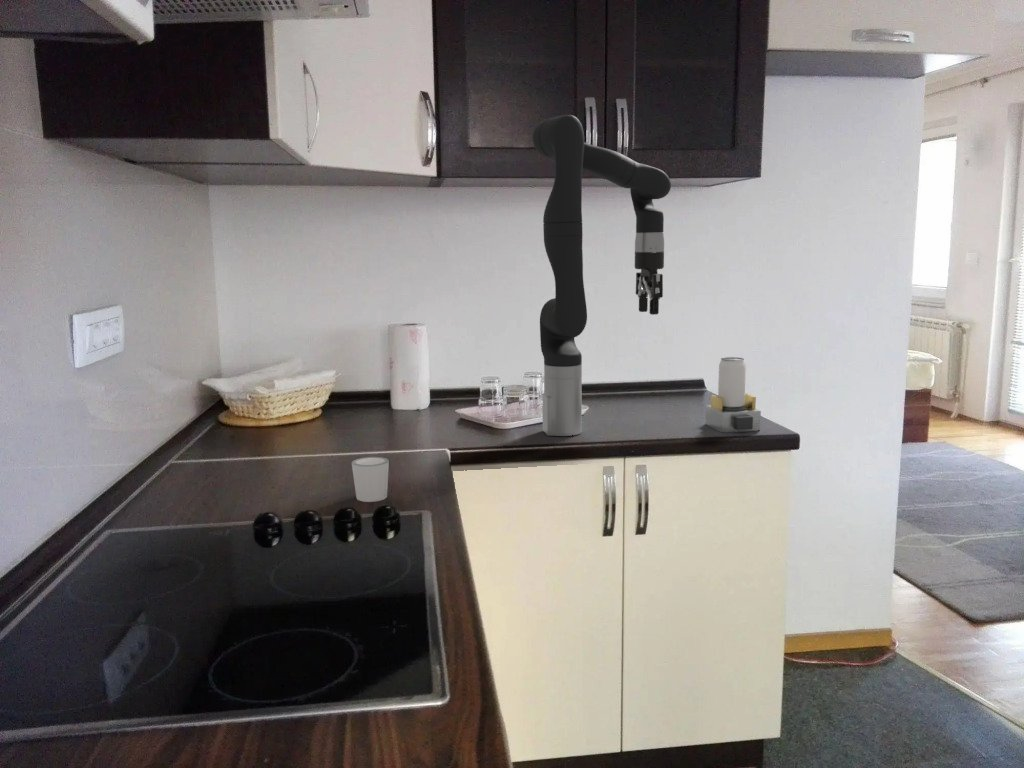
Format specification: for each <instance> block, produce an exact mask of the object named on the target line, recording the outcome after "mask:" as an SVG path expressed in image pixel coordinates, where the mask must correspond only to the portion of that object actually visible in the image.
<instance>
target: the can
mask: <svg viewBox="0 0 1024 768" xmlns="http://www.w3.org/2000/svg"><path fill="white" fill-rule="evenodd" d="M744 360H745V358H743V357H733V356H730V357H729V356H728V357H727V356H726V357H722V358H720V362H719V364H718V391H717V394H718V396H717V397H720V398H722V399H723V400H722V407H725V408H740V407H743V406H744V405H745V394H746V374H747V373H746V372H747V371H746V370H747V369H746V366H747V365H746V363H745V361H744Z"/></svg>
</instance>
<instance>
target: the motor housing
mask: <svg viewBox="0 0 1024 768" xmlns="http://www.w3.org/2000/svg"><path fill="white" fill-rule="evenodd" d="M756 398H757V397H756V396H754V395H752V394H748V393H745V405H744V406H743V407H740V408H725V407H722V400H723V399H722V398H720V397H718V396H717V395H715V394H710V404H706V405H705V425H706V426H709V427H710V428H712V429H714V430H716V431H718V432H720V433H741V432H758V430H760V431H761V413H762V411H761V410H760V409H757V408H756V400H757V399H756Z"/></svg>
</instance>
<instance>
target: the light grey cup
mask: <svg viewBox="0 0 1024 768" xmlns="http://www.w3.org/2000/svg"><path fill="white" fill-rule="evenodd" d="M389 463H390V460H389V459H388V458H386V457H381V456H368V457H360V458H357V459H354V460H352V461H351V470H352V476H353V482H354V483H353V484H354V490H355V497H356V499H357V501H360V502H365V503H372V502H381V501H383V500H385V499H387V497H388V483H389V467H390V465H389Z"/></svg>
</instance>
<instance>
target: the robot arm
mask: <svg viewBox="0 0 1024 768" xmlns="http://www.w3.org/2000/svg"><path fill="white" fill-rule="evenodd" d="M584 133H585V131H584V128H583V125H582V123H581V121H580V120H579V119H578V117H576V116H575V115H572V114H564V115H559V116H555V117H550V118H547V119H544V120H542V121H541V122H539V123H538V124H537V125H536V126H535V128H534V130H533V132H532V143H533V146H534V149H535V150H536V152H537V153H538V154H539V155H541V156H542V157H544V158H546V159H549V160H553V161H554V164H555V165H554V166H555V167H554V168H555V169H554V171H555V173H554V182H553V185H552V189H551V191H550V194H549V197H548V200H547V203H546V205H545V209H544V211H543V222H542V223H543V226H542V227H543V229H542V230H543V244H544V249H545V253H546V257H547V258H548V262H549V264H550V266H551V269H552V273H553V278H554V287H555V298H551V299H549V300H548V301H546V302H545V303H544V305H543V306H542V309H541V310H540V314H539V333H540V334H539V337H540V338H539V339H540V349H541V354H542V356H543V364H544V365H543V369H544V371H543V373H544V374H543V375H544V376H543V377H544V380H543V382H544V387H543V389H544V392H543V393H542V394H541V395H542V403H541V404H542V406H541V407H542V408H541V409H542V431H543V432H544V434H545V435H546V436H553V437H554V436H555V437H570V436H572V435H573V436H578V435H580V434H582V431H583V428H582V425H583V423H582V416H583V415H582V412H583V410H582V406H583V405H582V401H583V399H582V393H583V392H582V388H583V387H582V386H583V384H582V383H583V380H582V379H583V378H582V376H583V375H582V373H583V372H582V370H583V369H582V367H583V365H582V364H583V363H582V362H583V361H582V358H583V357H582V353H581V351H580V350H579V349H578V347H577V345H576V342H575V338H577V337H579V336H580V335H581V334H582V333H583V331H585V328H586V325H587V321H588V310H587V302H586V293H585V292H586V291H585V284H584V283H585V282H584V263H583V261H584V257H583V256H584V255H583V235H584V234H583V215H582V208H583V207H582V201H583V199H582V197H583V196H582V194H583V192H582V191H583V190H582V187H583V186H582V185H583V184H582V179H583V170H585V171H587V172H590V173H591V174H594V175H597V176H599V177H600V178H602V179H604V180H606V181H609V182H611V183H612V184H615V185H616V186H618V187H621V188H624V189H629V191H630V198H631V201H632V206H633V210H634V214H635V218H636V221H635V240H634V268H635V269H636V270H640V272H635V273H636V274H635V295H636V296H637V298H638V312H640V313H645V312H648V308H649V314H650V315H651V316H653V315H658V314H659V311H660V310H659V305H660V299H661V298H663V296H664V289H663V288H664V287H663V286H664V284H663V282H664V280H663V277H664V275H663V273H658V271H659V270H663V269H664V267H665V237H664V226H665V225H664V222H665V220H664V219H665V218H664V212H663V211H662V210H660V209H657V208H655V206H654V203H653V200H660V199H663V198H665V197H667V196H668V194H669V193H670V192H671V188H672V184H671V179H670V177H669V176H668V174H667V173H666V172H664V171H663V170H662V169H659V168H658V167H654V166H650V165H648V164H645V163H644V164H643V163H639V162H637V161H635V160H633V159H631V158H630V157H628V156H626V155H624V154H622V153H620V152H618V151H614V150H612V149H608V148H605V147H601V146H597V145H594V144H590V143H588V142H585V134H584ZM648 297H649V300H648ZM648 301H649V302H648ZM648 304H649V306H648Z"/></svg>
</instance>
